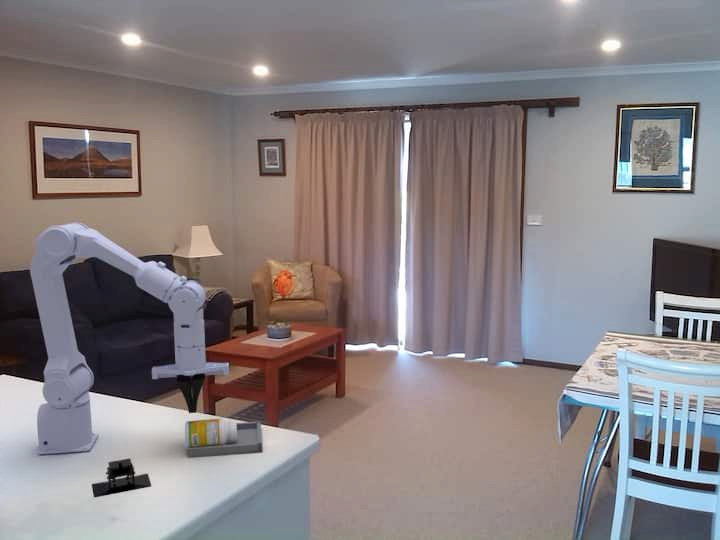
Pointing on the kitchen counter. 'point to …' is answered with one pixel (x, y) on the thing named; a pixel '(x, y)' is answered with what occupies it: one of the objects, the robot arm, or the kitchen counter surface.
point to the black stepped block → (120, 479)
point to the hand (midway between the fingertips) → (192, 411)
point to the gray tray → (246, 442)
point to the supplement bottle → (209, 433)
